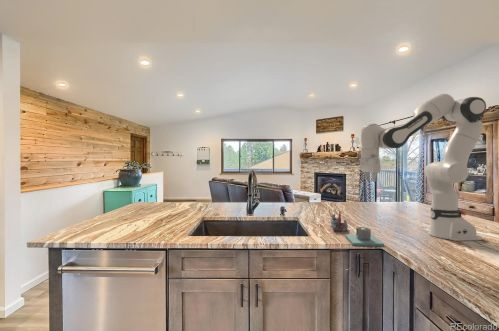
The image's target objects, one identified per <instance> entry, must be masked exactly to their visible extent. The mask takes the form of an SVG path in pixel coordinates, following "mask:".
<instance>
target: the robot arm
mask: <svg viewBox="0 0 499 331" xmlns="http://www.w3.org/2000/svg"><path fill="white" fill-rule="evenodd" d="M486 110H487V104H486V101H485V100H484V99H483V98H481V97H478V96H471V97H470V96H469V97H465V98H460V99H458V100H455V99H454V97H453V96H451V95H450V94H449V93H440V94H438V95H435V96H434V97H432V98H430V99H428V100H426V101H425V102H423V103H422V104H420V105H418V107H417V108H416V109H414V110H413V112H412V119H411V118H410V120H409V121H407V122H406V123H404V124H403V125H401V126H396V127H395V126H394V127H392V128H389V129H386V128H385V127H384V128H383V127H382V126H380V125H379V124H377V123H371V124H368V125H365V126H363V127H362V129H361V134H360V143H361V147H360V153H359V154H358V155H359V156H358V157H359V158H358V159H359V164H360V167H359V168H360V171H361V172H362V173H363V175H364V180H365V181H370V182H372V183H375V182H376V181H377V180H376V179H377V175H378V174H380V173H381V171H382V170H381V168H382V167H381V159H380V148H381V149H399V148H403V146H404V145H405V144H406V143H407V142H408V141H409V138H410V137H412V136H413V135H414V134H416V133H418V131H420V130H421V129H422V128H424V127H426V126H429V125H431V124H434V122H436V121H439V119H442V120H443V121H445V122H448V123H455V122H456V127H455V129H454V130H453V132H452V134H451V135H450V137H449V139H448V140H447V143H446V144H445V146H444V149H443V150H444V157H443V159H442V161H433V162H431V163H429V164H427V165H426V166H425V167H424V170H423V172H424V175H425V177H426V178H427V180H428V184H429V188H430V193H431V207H430V225H429V229H428V232H427V235H429V236H432V237H435V238H440V239H445V240H450V241H453V242H454V241H455V242H458V241H459V242H460V241H483V239H484V238H483V237H482V236H481V235H479V234H477V229H476V227H475V225H474V224H472V223H471V222H469V221H468V220H466V219H465V218H464V217H463V216H466V215H468V213H467V211H465V210H459V194H458V193H457V191H456V189H455V188H454V184H459V183H463V182H464V181H465V180H467V179H468V177H469V173H470V172H469V169H468V162H469V159H470V155H471V153H472V152H473V151H474V148H475V147H476V144H477V143H478V141H479V140H480V137H481V135H482V132H483V129H484V123H483V122H482V121H481V120H482V119H483V118H484V115H485V113H486ZM369 174H371V178H370V176H369Z"/></svg>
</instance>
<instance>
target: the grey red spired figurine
mask: <svg viewBox="0 0 499 331" xmlns="http://www.w3.org/2000/svg"><path fill="white" fill-rule="evenodd" d="M341 215H342V214H341V211H340V210H339V211H338V217H337V216H336V214H334V213H333V214H331V216H330V218H331V220H330V223H331V225H329V227H331V228H332V229H333V231H335V232H347V231H348V228H349V224H348V223H347V220H346V219H344V221H343V222H342V218H341V217H342V216H341Z"/></svg>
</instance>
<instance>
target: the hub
mask: <svg viewBox="0 0 499 331" xmlns="http://www.w3.org/2000/svg"><path fill="white" fill-rule="evenodd" d="M361 228H365V229H366V230H362V229H361ZM355 231H356V232H355V235H356V238H357V239H358V240H362V241H369V240H371V235H372V234H371V233H372V232H371V231H372V230H371V229H370V228H369V227H365V226H363V227H361V226H360V227H358V226H357V227H356V229H355Z"/></svg>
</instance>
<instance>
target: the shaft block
mask: <svg viewBox="0 0 499 331" xmlns="http://www.w3.org/2000/svg"><path fill="white" fill-rule="evenodd" d="M365 228H366V227H365ZM365 228H361V229H362V230H366V229H365ZM344 237H345V239H346V240H347V241H348V242H349V243H350V244H351V246H354V247H355V246H357V247H358V246H359V247H360V246H361V247H363V246H364V247H385V243H384V242H382V241H381V240H380V239H379V238H377V237H376V236H375V235H374V234H371V240H369V241H362V240H358V239H357V238H356V234H344Z"/></svg>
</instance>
